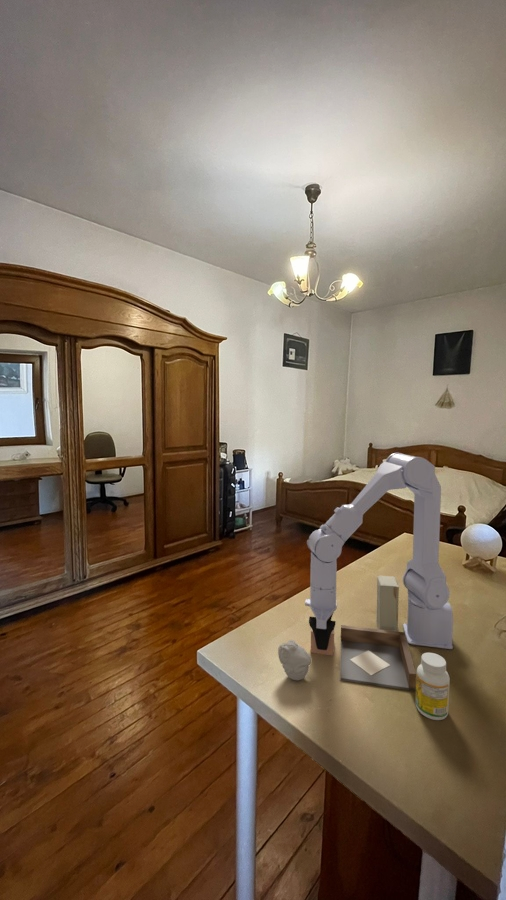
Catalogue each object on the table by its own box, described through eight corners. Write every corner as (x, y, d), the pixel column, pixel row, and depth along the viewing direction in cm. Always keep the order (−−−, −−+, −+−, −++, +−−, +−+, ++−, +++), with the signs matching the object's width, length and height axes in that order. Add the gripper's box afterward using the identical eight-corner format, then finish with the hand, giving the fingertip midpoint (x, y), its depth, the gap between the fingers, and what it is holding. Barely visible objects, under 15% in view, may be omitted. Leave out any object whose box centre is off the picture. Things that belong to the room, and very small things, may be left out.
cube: (334, 642, 88) (334, 621, 88) (333, 655, 84) (333, 634, 83) (312, 639, 90) (312, 619, 89) (310, 652, 85) (310, 631, 84)
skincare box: (398, 636, 90) (399, 587, 89) (379, 634, 91) (380, 585, 90) (393, 621, 97) (395, 575, 95) (375, 620, 97) (377, 574, 96)
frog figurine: (285, 662, 81) (285, 631, 81) (316, 673, 78) (316, 641, 77) (272, 679, 76) (272, 647, 76) (304, 693, 73) (305, 658, 72)
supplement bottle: (443, 726, 65) (446, 674, 64) (411, 710, 68) (413, 660, 67) (451, 707, 69) (453, 658, 68) (420, 693, 72) (422, 646, 71)
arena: (404, 646, 86) (404, 632, 86) (415, 691, 73) (416, 674, 72) (340, 638, 90) (341, 624, 89) (340, 680, 76) (340, 663, 76)
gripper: (308, 569, 93) (307, 621, 94) (302, 597, 79) (301, 659, 80) (337, 571, 91) (336, 625, 93) (336, 601, 77) (335, 663, 79)
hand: (322, 641), depth 86 cm, fingers closed on cube, 5 cm apart
